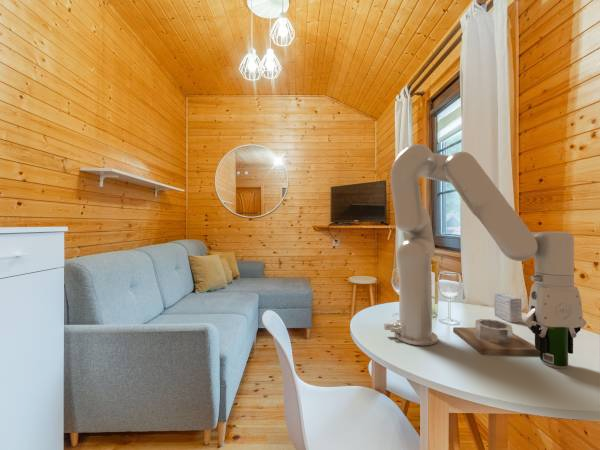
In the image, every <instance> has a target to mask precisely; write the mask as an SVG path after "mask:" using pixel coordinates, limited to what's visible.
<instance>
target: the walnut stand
mask: <svg viewBox="0 0 600 450" xmlns="http://www.w3.org/2000/svg"><path fill="white" fill-rule="evenodd" d="M452 329H453V330H452V331H453V334H455V335H457V337H459V338H461V339H462V340H463V341H464V342H465V343H467V345H469V346H470V347H472V348H473V349H474V350H476V351H477V352H478V353H479V354H481V355H503V356H504V355H505V356H507V355H508V356H509V355H510V356H512V355H513V356H522V355H523V356H540V351H539V350H537V349H536V348H535V344H533V343H532V342H530V341H527V340H526V339H524V338H522V337H520V336H519V335H517V334H515V333H513V332H512V342H511V343H508V344H498V343H492V342H488V341H485V340H482V339H480V338H478V337H477V336H476V327H461V326H460V327H453V328H452Z"/></svg>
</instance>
